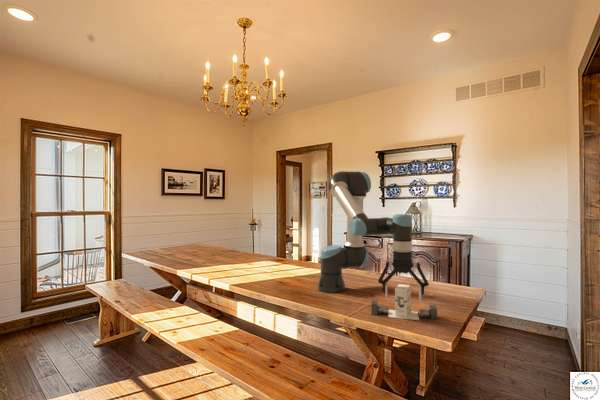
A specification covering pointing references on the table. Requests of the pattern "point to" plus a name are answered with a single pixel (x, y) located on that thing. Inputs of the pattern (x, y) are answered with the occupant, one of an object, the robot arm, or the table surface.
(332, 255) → the robot arm
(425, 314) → the shaft stub
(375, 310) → the shaft stub
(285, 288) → the table surface
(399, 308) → the ink box
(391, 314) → the pad
